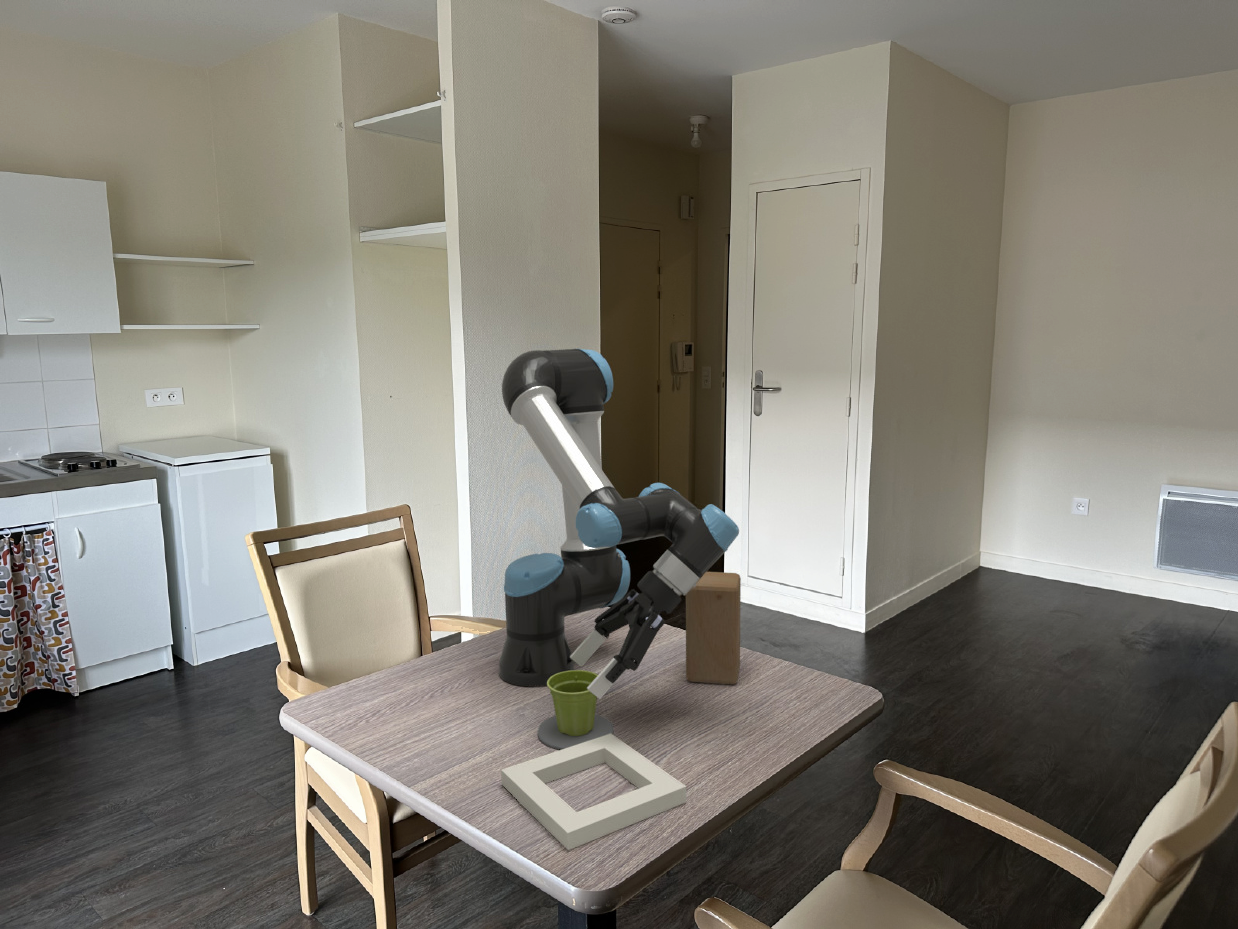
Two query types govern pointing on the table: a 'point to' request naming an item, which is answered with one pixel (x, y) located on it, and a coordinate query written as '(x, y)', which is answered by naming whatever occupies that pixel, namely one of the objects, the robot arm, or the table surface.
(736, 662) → the wooden block
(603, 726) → the mat
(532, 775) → the well board
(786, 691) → the table surface
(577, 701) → the plant pot
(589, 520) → the robot arm
